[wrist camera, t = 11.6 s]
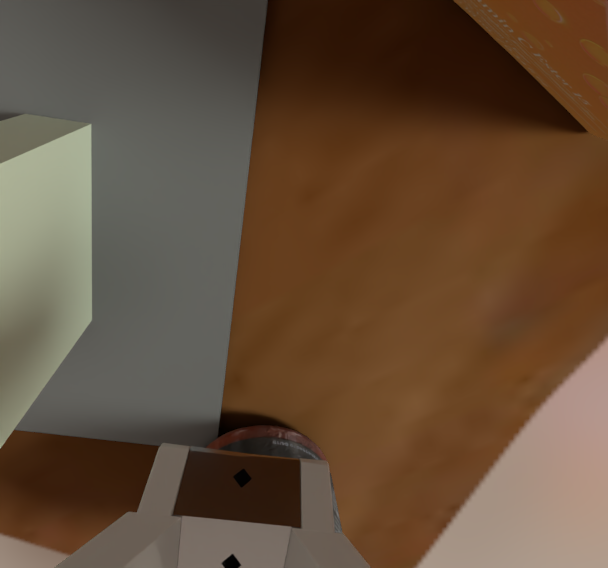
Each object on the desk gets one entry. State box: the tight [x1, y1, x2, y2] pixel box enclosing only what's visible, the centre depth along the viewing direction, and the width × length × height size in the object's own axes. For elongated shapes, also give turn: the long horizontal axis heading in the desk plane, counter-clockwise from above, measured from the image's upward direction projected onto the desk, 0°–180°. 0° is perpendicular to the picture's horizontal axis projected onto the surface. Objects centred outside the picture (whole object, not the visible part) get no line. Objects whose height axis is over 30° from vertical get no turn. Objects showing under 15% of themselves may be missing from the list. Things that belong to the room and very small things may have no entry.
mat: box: [0, 0, 268, 448], centre depth 19 cm, size 18×16×1 cm
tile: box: [0, 114, 92, 448], centre depth 15 cm, size 7×2×8 cm, turn 171°
